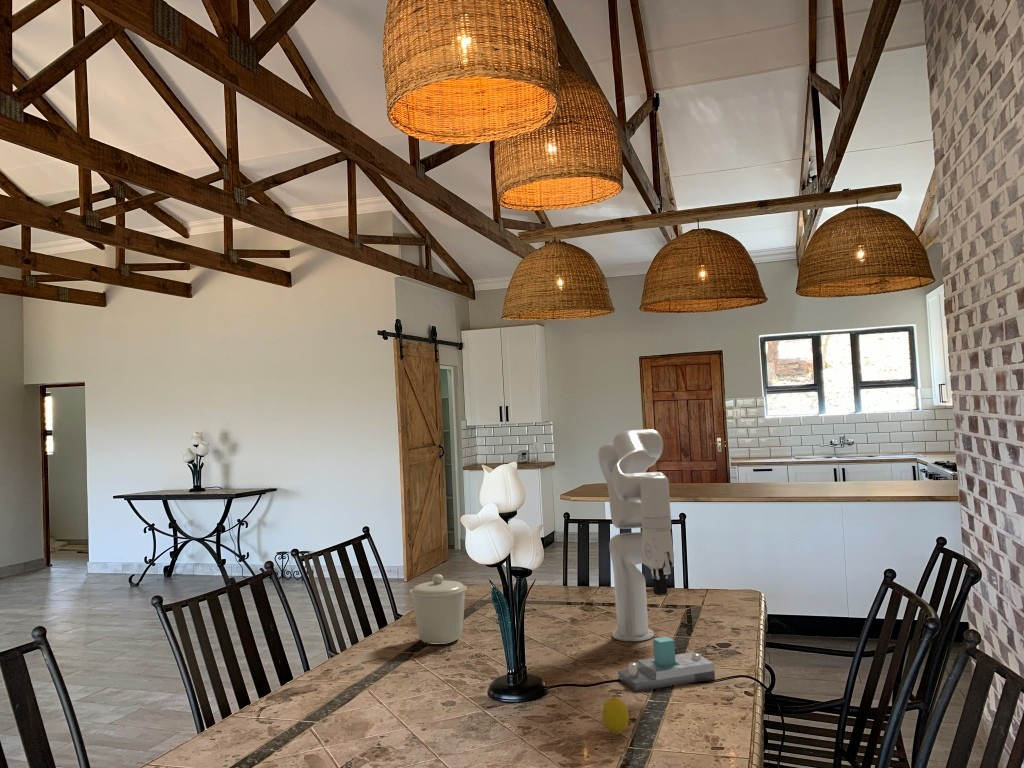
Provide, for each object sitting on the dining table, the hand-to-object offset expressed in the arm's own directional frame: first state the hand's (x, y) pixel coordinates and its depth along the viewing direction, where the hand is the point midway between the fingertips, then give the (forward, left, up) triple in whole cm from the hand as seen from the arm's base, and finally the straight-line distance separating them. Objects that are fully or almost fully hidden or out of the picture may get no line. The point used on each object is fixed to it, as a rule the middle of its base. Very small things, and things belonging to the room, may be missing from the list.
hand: (660, 593), depth 206 cm
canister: (-63, -47, -22) cm, 81 cm away
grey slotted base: (0, 0, -22) cm, 22 cm away
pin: (0, 0, -22) cm, 22 cm away
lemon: (+28, -26, -22) cm, 44 cm away
